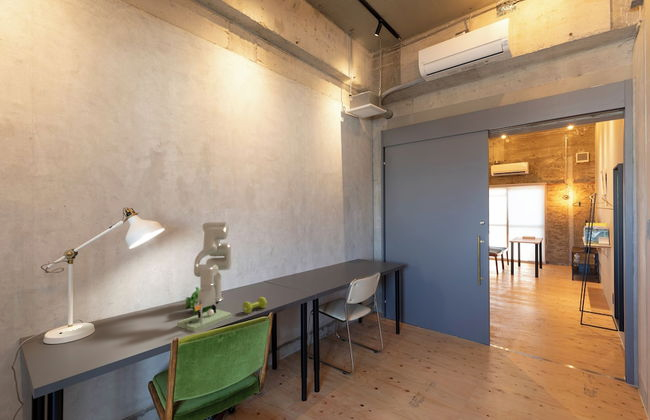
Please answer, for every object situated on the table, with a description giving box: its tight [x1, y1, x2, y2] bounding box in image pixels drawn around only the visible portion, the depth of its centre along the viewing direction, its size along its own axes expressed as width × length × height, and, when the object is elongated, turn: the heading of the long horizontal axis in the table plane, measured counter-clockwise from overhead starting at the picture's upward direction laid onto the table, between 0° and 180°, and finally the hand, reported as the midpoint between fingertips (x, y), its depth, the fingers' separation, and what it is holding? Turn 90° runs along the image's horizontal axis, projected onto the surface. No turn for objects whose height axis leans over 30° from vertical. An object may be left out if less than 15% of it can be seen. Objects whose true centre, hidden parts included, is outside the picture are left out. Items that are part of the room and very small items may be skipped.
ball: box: [207, 309, 214, 316], centre depth 181 cm, size 4×4×4 cm
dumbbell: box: [241, 296, 268, 314], centre depth 198 cm, size 16×8×7 cm, turn 141°
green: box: [176, 304, 233, 333], centre depth 178 cm, size 16×26×14 cm, turn 149°
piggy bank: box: [185, 286, 213, 315], centre depth 196 cm, size 14×18×15 cm
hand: (207, 315), depth 179 cm, fingers open, 9 cm apart
